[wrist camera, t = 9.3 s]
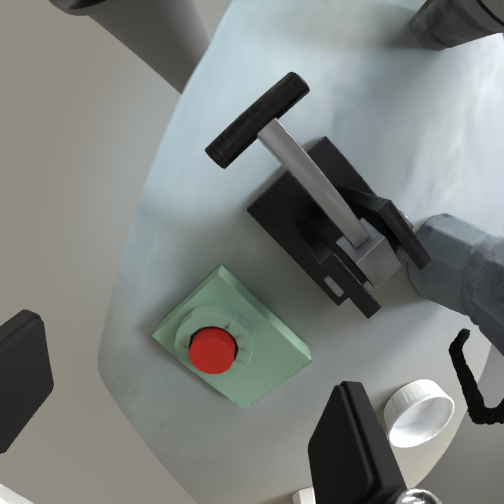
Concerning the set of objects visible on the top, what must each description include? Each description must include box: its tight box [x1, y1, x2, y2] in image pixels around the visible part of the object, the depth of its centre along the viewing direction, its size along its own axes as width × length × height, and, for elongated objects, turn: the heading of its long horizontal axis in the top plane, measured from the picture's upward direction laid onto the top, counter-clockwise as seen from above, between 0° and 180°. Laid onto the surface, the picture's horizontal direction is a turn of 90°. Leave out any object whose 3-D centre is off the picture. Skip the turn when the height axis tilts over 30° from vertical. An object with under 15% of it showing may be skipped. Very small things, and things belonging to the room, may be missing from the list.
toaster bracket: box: [246, 136, 432, 319], centre depth 21 cm, size 12×9×12 cm
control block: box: [152, 264, 312, 409], centre depth 28 cm, size 12×9×4 cm
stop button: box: [189, 328, 235, 374], centre depth 25 cm, size 4×4×2 cm
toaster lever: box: [205, 72, 402, 289], centre depth 15 cm, size 12×5×2 cm, turn 44°
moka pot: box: [408, 213, 504, 425], centre depth 18 cm, size 10×15×20 cm, turn 151°
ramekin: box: [384, 380, 454, 448], centre depth 31 cm, size 9×9×4 cm
